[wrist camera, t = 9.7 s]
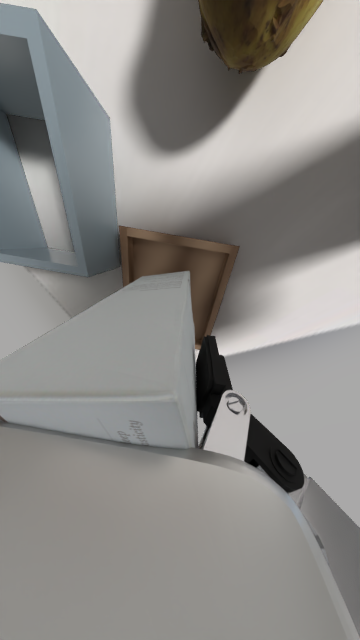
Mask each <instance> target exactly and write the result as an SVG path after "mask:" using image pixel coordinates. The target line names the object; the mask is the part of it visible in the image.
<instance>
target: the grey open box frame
mask: <svg viewBox="0 0 360 640" xmlns="http://www.w3.org/2000/svg"><path fill="white" fill-rule="evenodd" d="M6 114H10V115H16V116H22V117H28V118H34V119H39V120H45V122H46V126H47V131H48V135H49V139H50V144H51V148H52V153H53V157H54V162H55V166H56V171H57V175H58V180H59V184H60V189H61V193H62V197H63V202H64V206H65V211H66V215H67V220H68V224H69V229H70V233H71V238H72V242H73V246H74V251H75V252H70V251H64V250H59V249H53V248H48V247H47V244H46V241H45V237H44V234H43V231H42V228H41V225H40V221H39V218H38V215H37V212H36V208H35V205H34V202H33V199H32V196H31V192H30V189H29V186H28V183H27V180H26V176H25V173H24V170H23V167H22V164H21V160H20V157H19V154H18V151H17V147H16V144H15V141H14V138H13V135H12V131H11V128H10V125H9V122H8V119H7V115H6ZM0 262H4V263H10V264H15V265H21V266H27V267H33V268H38V269H44V270H50V271H56V272H62V273H67V274H73V275H79V276H85V277H90V276H93V275H96V274H99V273H102V272H105V271H108V270H111V269H114V268H117V267H120V253H119V239H118V225H117V212H116V198H115V184H114V170H113V157H112V143H111V129H110V117H109V116H108V115H107V113H106V112H105V110H104V109H103V107H102V106H101V104H100V103H99V101H98V100H97V98H96V97H95V95H94V94H93V92H92V91H91V89H90V88H89V86H88V85H87V84H86V82H85V81H84V79H83V78H82V76H81V75H80V73H79V72H78V70H77V69H76V67H75V66H74V64H73V63H72V61H71V60H70V58H69V57H68V55H67V54H66V52H65V51H64V50H63V48H62V47H61V45H60V44H59V42H58V41H57V39H56V38H55V36H54V35H53V33H52V32H51V30H50V29H49V27H48V26H47V24H46V23H45V21H44V20H43V18H42V17H41V16H40V14H39V13H38V11H37V10H36V9H33V8H27V7H21V6H15V5H9V4H3V3H0Z"/></svg>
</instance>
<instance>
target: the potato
mask: <svg viewBox="0 0 360 640" xmlns="http://www.w3.org/2000/svg"><path fill="white" fill-rule="evenodd" d="M198 2H199V8H200V13H201V19H202V20H201V26H202V32H201V37H202V38H203V41H204V43H205V41H207V42H208V45H209V48H210V50H211V51H215V52H216V54H217V55H218V57H219V58H220V59H222V61H223V62H224V64H225V65H226V66H227V67H228V70H229V69H230V68H233V69H236V70H239V74H240V73H242V72H248V71H256V70H257V69H260V68H262V67H264V66H266V65H268V64H270V63H271V62H273V61H274V60H276V59H277V58H278V57H282V56H284V54H285V53H286V52H287V50H288V48H289V47H290V45H291V44H292V42H293V41H294V40H295V39H296V37H297V36H298V35H299V33H300V32H301V31H302V29H303V28H304V27H305V25H306V24H307V23H308V21H309V20H310V19H311V17H312V16H313V14H314V13H315V12H316V10H317V9H318V7H319V6H320V5H321V3H322V2H323V0H198Z"/></svg>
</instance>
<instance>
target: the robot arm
mask: <svg viewBox="0 0 360 640" xmlns="http://www.w3.org/2000/svg"><path fill="white" fill-rule="evenodd" d="M196 395H197V411H199V412H200V418H203V421H204V423H205V424H206V428H205V431H204V434H203V436H202V438H201V441H200V444H199V446H198V448H193V447H191V448H189V449H174V448H161V447H153V446H145V445H136V444H128V443H122V442H116V441H110V440H104V439H98V438H92V437H86V436H80V435H75V434H69V433H64V432H58V431H52V430H47V429H41V428H36V427H30V426H25V425H19V424H14V423H8V422H3V421H0V640H360V528H359V527H358V526H357V525H356V524H355V523H354V522H353V521H352V519H351V518H349V516H348V515H347V514H346V513H345V512H344V511H343V510H342V509H341V508H340V507H339V506H338V505H337V504H336V503H335V502H334V501H333V500H332V499H331V498H330V497H329V496H328V495H327V494H326V493H325V491H324V490H323V489H321V487H320V486H319V485H318V484H317V483H316V482H315V481H314V480H313V479H312V478H311V477H309V478H307V477H306V475H305V474H304V473H303V470H302V468H301V466H300V464H299V462H298V460H297V459H296V458H295V456H294V455H293V454H292V452H291V451H290V450H289V449H288V448H287V447H286V446H285V445H284V444H282V443H281V442H280V441H279V440H278V439H277V438H276V437H275V436H274V435H273V434H272V433H271V432H270V431H269V430H268V429H267V428H265V427H264V426H263V425H262V424H261V423H260V422H259V421H258V420H257V419H255V417H254V416H253V415H252V414H251V410H250V405H249V403H248V402H247V400H246V399H245V397H244V396H243V395H241V394H240V393H239V392H236V391H234V390H233V389H232V385H231V381H230V378H229V374H228V370H227V367H226V362H225V359H224V356H223V355H219V352H218V348H217V343H216V339H215V336H210V335H207V336H206V337H205V336H204V338H203V341H202V344H201V348H200V351H199V354H198V358H197V361H196Z"/></svg>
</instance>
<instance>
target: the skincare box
mask: <svg viewBox="0 0 360 640" xmlns="http://www.w3.org/2000/svg"><path fill="white" fill-rule="evenodd" d="M0 421H3V422H8V423H14V424H19V425H25V426H30V427H36V428H41V429H47V430H52V431H58V432H64V433H69V434H75V435H80V436H86V437H92V438H98V439H104V440H110V441H116V442H122V443H128V444H136V445H145V446H153V447H161V448H174V449H189V448H191V447H193V448H198V426H197V395H196V364H195V327H194V322H193V314H192V304H191V289H190V271H183V272H174V273H166V274H158V275H150V276H142V277H140V278H139V279H137V280H135V281H134V282H132V283H130V284H129V285H127V286H125V287H123V288H122V289H120V290H118V291H117V292H115V293H113V294H112V295H110V296H108V297H106V298H105V299H103V300H101V301H100V302H98V303H96V304H95V305H93V306H91V307H90V308H88V309H86V310H85V311H83V312H81V313H80V314H78V315H76V316H74V317H73V318H71V319H69V320H68V321H66V322H64V323H63V324H61V325H59V326H57V327H56V328H54V329H53V330H51V331H49V332H47V333H46V334H44V335H42V336H41V337H39V338H37V339H36V340H34V341H32V342H31V343H29V344H27V345H25V346H24V347H22V348H20V349H19V350H17V351H15V352H13V353H12V354H10V355H8V356H7V357H5V358H3V359H2V360H0Z"/></svg>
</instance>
